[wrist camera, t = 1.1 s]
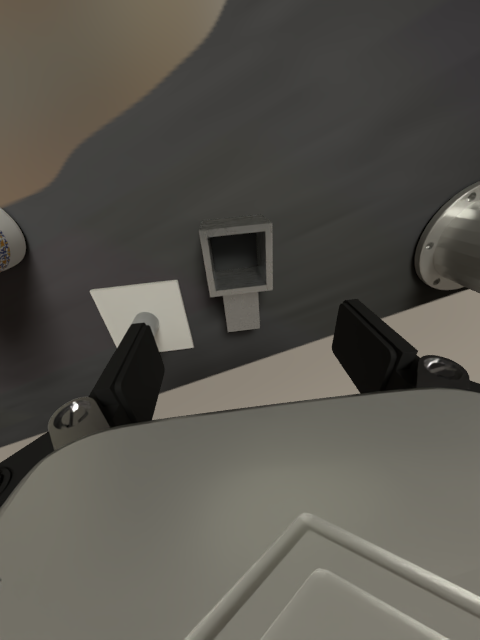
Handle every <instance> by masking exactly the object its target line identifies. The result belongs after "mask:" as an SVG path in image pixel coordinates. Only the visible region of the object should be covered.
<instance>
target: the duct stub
mask: <svg viewBox="0 0 480 640" xmlns="http://www.w3.org/2000/svg"><path fill="white" fill-rule="evenodd" d="M90 293H91V295H92V297H93V299H94V301H95V303H96V306H97V308H98V310H99V312H100V314H101V316H102V318H103V320H104V322H105V324H106V326H107V328H108V330H109V332H110V334H111V337H112V339H113V341H114V343H115V345H116V347H118V346H119V344H120V342H121V341H122V339H123V337H124V335H125V334H126V332H127V330H128V329H129V327H130V325H131V324H135V323H145V324H146V325H149V326H150V327H151V330H152V333H153V336H154V339H155V341H156V344H157V347H158V350H159V352H164V351H172V350H180V349H187V348H194V344H193V340H192V336H191V332H190V328H189V324H188V320H187V316H186V312H185V307H184V303H183V299H182V295H181V291H180V287H179V283H178V280H171V281H162V282H153V283H144V284H136V285H127V286H118V287H110V288H101V289H92V290H90Z"/></svg>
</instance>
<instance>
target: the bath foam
mask: <svg viewBox="0 0 480 640" xmlns="http://www.w3.org/2000/svg"><path fill="white" fill-rule="evenodd" d="M25 252H26V243H25V239H24V236H23V234H22V231H21V230H20V228H19V226H18V225H17V224H16V222H15V221H14V220H13V219H12V218H11V217H10V216H9V215H8V214H7V213H6V212H5V211H4V210H2V209H1V208H0V272H2V271H4V270H7V269H9V268H11V267H13V266H15V265H17V264H18V263H19V262H21V260H22V259H23V258H24V255H25Z"/></svg>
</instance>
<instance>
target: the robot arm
mask: <svg viewBox="0 0 480 640" xmlns="http://www.w3.org/2000/svg"><path fill="white" fill-rule="evenodd" d="M415 269H416V273H417V275H418V277H419V278H420V280H422V281H423V282H424V283H425V284H427V285H429V286H431V287H433V288H436V289H439V290H454V289H459V288H462V287H467V288H469V289H471V290H474V291H476V292H478V293H480V181H479V182H477V183H475V184H473V185H471V186H469V187H467V188H465V189H464V190H462V191H461V192H459V193H458V194H456V195H455V196H454V197H452V198H451V199H450V200H449V201H448V202H447V203H445V204H444V205H443V206H442V207H441V209H440V210H439V211H438V212H437V213H436V214H435V215H434V216H433V218H432V219H431V221H430V222H429V223H428V225H427V226H426V228H425V230H424V232H423V233H422V235H421V237H420V240H419V242H418V245H417V248H416V253H415ZM332 351H333V353H334V355H335V356H336V358H337V359H338V360H339V362H340V364H341V365H342V367H343V368H344V370H345V371H346V372H347V374H348V375H349V377H350V378H351V380H352V381H353V383H354V384H355V386H356V387H357V389H358V390H359V392H360V393H361V394H353V395H345V396H337V397H329V398H320V399H312V400H304V401H297V402H287V403H280V404H271V405H264V406H256V407H248V408H240V409H232V410H225V411H217V412H210V413H202V414H195V415H187V416H179V417H172V418H165V419H158V420H152V417H153V414H154V410H155V406H156V402H157V399H158V395H159V391H160V387H161V384H162V380H163V376H164V364H163V362H162V359H161V356H160V353H159V350H158V347H157V344H156V341H155V339H154V336H153V333H152V330H151V327H150V326H149V325H146V324H145V323H135V324H131V325H130V327H129V329H128V330H127V332H126V334H125V335H124V337H123V339H122V341H121V342H120V344H119V346H118V347H117V349H116V351H115V353H114V354H113V356H112V357H111V359H110V361H109V363H108V364H107V366H106V368H105V369H104V371H103V373H102V375H101V376H100V378H99V380H98V381H97V383H96V385H95V387H94V388H93V390H92V392H91V393H90V395H89V397H80V398H77V399H74V400H72V401H70V402H68V403H66V404H65V405H63V406H61V407H60V408H59V409H58V410H57V411H56V412H55V413H54V414H53V416H52V417H51V418H50V421H49V423H48V430H49V431H48V432H47V433H45V434H44V435H42V436H41V437H39V438H38V439H36V440H35V441H33V442H32V443H30V444H29V445H27V446H25V447H24V448H22V449H21V450H19V451H18V452H16V453H15V454H13V455H12V456H10V457H9V458H7V459H6V460H4V461H2V462H1V463H0V640H480V384H479V383H475V382H472V381H470V380H469V375H468V373H467V371H466V370H465V369H464V368H463V367H462V366H460V365H459V364H457V363H456V362H454V361H452V360H450V359H447V358H444V357H440V356H435V355H427V356H423V357H421V358H419V357H418V356H417V355H416V354H417V352H418V351H417V350H416V349H415V348H414V347H413V346H411V345H410V344H409V343H408V342H407V341H406V340H405V339H403V338H402V337H401V336H400V335H399V334H398V333H396V332H395V331H394V330H393V329H392V328H390V327H389V326H388V325H387V324H386V323H385V322H384V321H382V320H381V319H380V318H379V317H378V316H377V315H375V314H374V313H373V312H372V311H371V310H370V309H368V308H367V307H366V306H365V305H364V304H363V303H361V302H360V301H359V300H358V299H353V300H345V301H344V302H343V304H340V306H339V311H338V316H337V322H336V327H335V332H334V338H333V343H332Z"/></svg>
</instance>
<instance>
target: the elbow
mask: <svg viewBox="0 0 480 640" xmlns="http://www.w3.org/2000/svg"><path fill="white" fill-rule="evenodd" d="M253 232H256V245H257V267H248V268H239V269H231V270H222V271H215V267H214V260H213V253H212V246H211V240H210V237H216V236H225V235H234V234H243V233H253ZM199 235H200V241H201V246H202V252H203V258H204V264H205V270H206V276H207V281H208V287H209V293H210V297H217V296H223V300H224V308H225V315H226V322H227V329H228V332H234V331H242V330H250V329H258V328H260V322H259V299H258V292H259V291H268V290H273V255H272V222H271V221H269V220H268V219H267V218H265V217H264V216H263V215H261V214H257V215H248V216H238V217H229V218H219V219H210V220H202V221H201V225H200V228H199Z"/></svg>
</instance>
